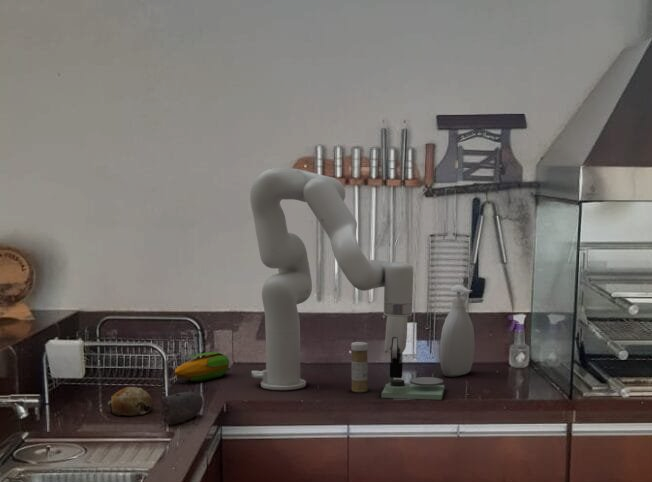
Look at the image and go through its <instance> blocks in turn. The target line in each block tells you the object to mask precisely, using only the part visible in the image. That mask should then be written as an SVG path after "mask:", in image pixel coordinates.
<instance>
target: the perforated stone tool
mask: <svg viewBox="0 0 652 482" xmlns="http://www.w3.org/2000/svg"><path fill="white" fill-rule="evenodd" d="M160 403H161V407H160V412H159V413H160V415H161V416H162V422H164V424H167V425H171V426H172V425H177V424H182V423H184V422H186V421H189V420H191V419H193V418H195V417H197V415H198V414H199V413H200V412H201V411H202V408H203V404H204V401H203V397H202V396H201V394H199V393H198V392H194V391H183V392H178V393H174V394H171V395H166V396H163V397H161V398H160Z"/></svg>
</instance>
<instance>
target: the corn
mask: <svg viewBox="0 0 652 482" xmlns="http://www.w3.org/2000/svg"><path fill="white" fill-rule="evenodd" d="M193 358H194V359H193ZM188 359H191V360H189V361H187V362H184V363H182V364H181V365H179V366H177V367H176V368H175V370H174V372H173V375H175V376H176V377H177V378H181V379H182V378H183V379H189V381H190V382H205V381H210V380H212V379H217V378H221V377H222V376H223V375H224V374H225V373H227V371H228V370H229V369H228V368H229V365H230V363H231V362H230V359H229V358H228V356H227V355H226V354H225V355H224V354H223V353H220V352H218V351H207V352H202V353H199V354H195V355H192V356H189V357H188Z"/></svg>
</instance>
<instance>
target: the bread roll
mask: <svg viewBox="0 0 652 482" xmlns="http://www.w3.org/2000/svg"><path fill="white" fill-rule="evenodd" d="M110 398H111V399H110V400H109V401H108V402H107V406H109V411H110V412H111V413H112V414H113V415H115V416H118V417H121V416H125V417H135V416H143V415H145V414H147V413H150V412H151V411H152V410H153V408H154V401H153V398H152V396H151V394H149V393H148V392H147V391H146V390H145V389H143V388H142V387H137V386H126V387H123V388H121V389H119V390H117V392H115V393H114V394H112V395H111V397H110Z"/></svg>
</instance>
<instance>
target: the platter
mask: <svg viewBox="0 0 652 482" xmlns="http://www.w3.org/2000/svg"><path fill="white" fill-rule="evenodd" d="M410 384H415V385H421V386H435V385H444V380H443V379H442V378H438V377H431V376H422V377H421V376H420V377H414V378H413V377H412V378H411V379H410Z"/></svg>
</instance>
